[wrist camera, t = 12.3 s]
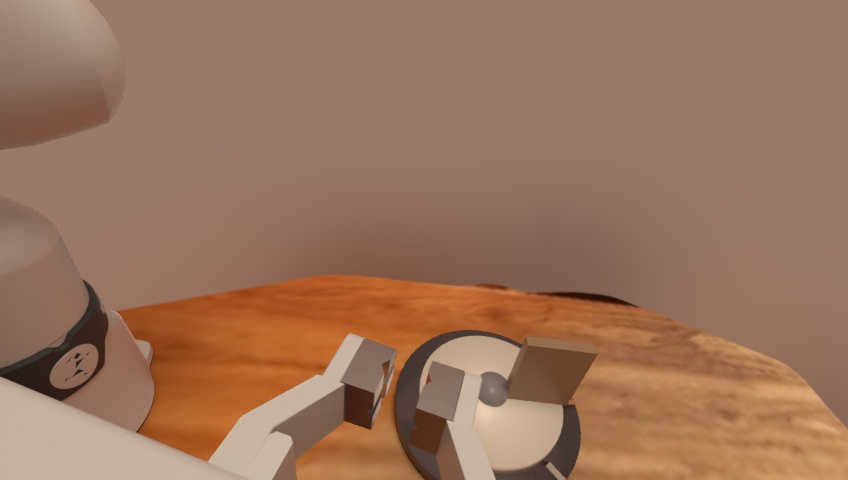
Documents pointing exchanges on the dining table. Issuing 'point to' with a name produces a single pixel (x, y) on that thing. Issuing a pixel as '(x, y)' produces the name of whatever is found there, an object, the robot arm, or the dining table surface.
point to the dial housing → (544, 476)
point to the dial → (518, 393)
